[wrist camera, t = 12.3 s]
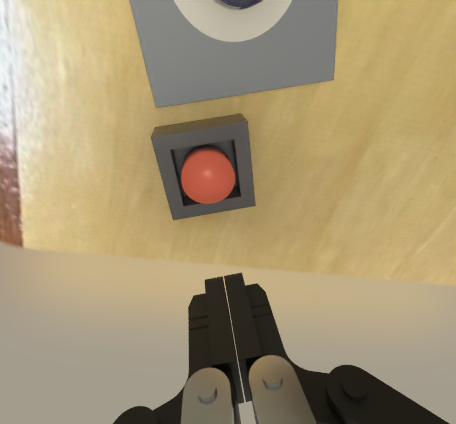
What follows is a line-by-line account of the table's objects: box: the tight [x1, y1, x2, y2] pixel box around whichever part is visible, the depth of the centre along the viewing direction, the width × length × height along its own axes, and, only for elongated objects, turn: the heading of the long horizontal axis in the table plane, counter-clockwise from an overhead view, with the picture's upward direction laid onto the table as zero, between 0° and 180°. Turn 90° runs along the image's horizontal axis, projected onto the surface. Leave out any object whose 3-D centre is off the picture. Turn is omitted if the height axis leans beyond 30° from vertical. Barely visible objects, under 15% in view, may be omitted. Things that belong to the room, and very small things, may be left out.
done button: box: [181, 146, 235, 204], centre depth 22 cm, size 4×4×2 cm
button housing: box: [151, 114, 255, 220], centre depth 24 cm, size 7×7×3 cm
